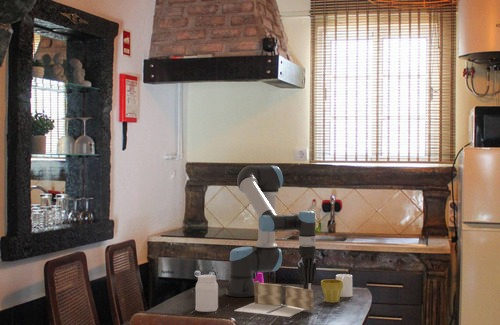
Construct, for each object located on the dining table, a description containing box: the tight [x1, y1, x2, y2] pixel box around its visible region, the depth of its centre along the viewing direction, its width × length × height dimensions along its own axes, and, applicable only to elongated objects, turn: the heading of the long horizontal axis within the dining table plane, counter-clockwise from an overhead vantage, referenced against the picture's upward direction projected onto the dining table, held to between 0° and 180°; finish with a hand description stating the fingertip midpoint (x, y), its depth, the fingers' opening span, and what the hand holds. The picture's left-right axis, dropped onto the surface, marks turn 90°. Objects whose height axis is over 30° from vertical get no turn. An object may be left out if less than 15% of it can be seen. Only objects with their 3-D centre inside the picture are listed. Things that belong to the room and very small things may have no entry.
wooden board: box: [281, 285, 315, 311], centre depth 320 cm, size 19×2×9 cm, turn 43°
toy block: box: [253, 272, 265, 284], centre depth 381 cm, size 15×6×8 cm, turn 81°
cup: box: [335, 273, 353, 298], centre depth 352 cm, size 8×12×10 cm
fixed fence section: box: [254, 281, 283, 306], centre depth 330 cm, size 14×2×10 cm, turn 62°
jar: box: [194, 274, 219, 313], centre depth 321 cm, size 12×10×15 cm
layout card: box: [234, 301, 306, 318], centre depth 321 cm, size 27×22×1 cm
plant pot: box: [320, 278, 343, 303], centre depth 339 cm, size 10×10×10 cm
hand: (307, 297), depth 320 cm, fingers closed
